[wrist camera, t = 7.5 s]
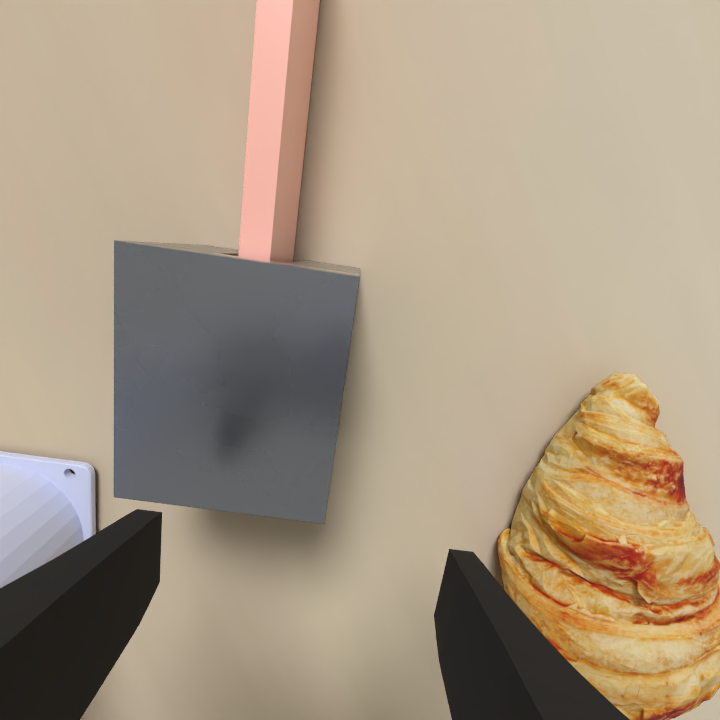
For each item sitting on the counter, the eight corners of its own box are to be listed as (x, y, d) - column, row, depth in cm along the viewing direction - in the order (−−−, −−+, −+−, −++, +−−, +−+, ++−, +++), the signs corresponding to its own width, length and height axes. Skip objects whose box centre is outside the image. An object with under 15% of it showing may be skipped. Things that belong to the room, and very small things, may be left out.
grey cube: (195, 417, 20) (113, 497, 13) (204, 245, 18) (114, 240, 12) (336, 436, 20) (324, 523, 14) (360, 268, 18) (359, 277, 12)
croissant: (513, 352, 23) (479, 396, 16) (757, 360, 18) (856, 428, 11) (510, 666, 28) (483, 803, 21) (703, 738, 23) (750, 946, 16)
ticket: (268, 267, 18) (237, 272, 14) (302, -102, 15) (275, -262, 10) (291, 270, 18) (268, 276, 14) (330, -98, 15) (316, -255, 10)
